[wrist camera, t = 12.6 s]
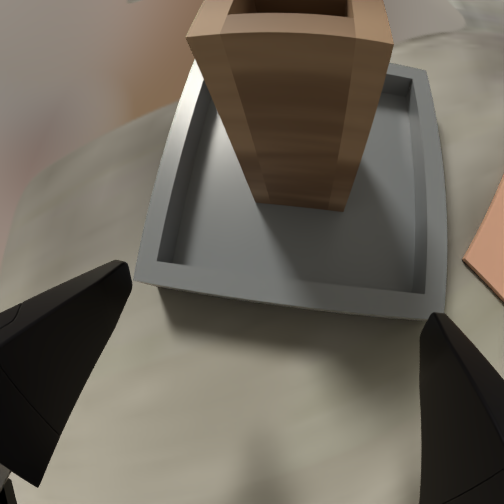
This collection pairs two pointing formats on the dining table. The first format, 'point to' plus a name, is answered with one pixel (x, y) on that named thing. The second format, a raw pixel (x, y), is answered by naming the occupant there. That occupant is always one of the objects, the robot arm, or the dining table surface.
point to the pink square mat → (490, 245)
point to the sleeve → (295, 90)
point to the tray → (305, 217)
